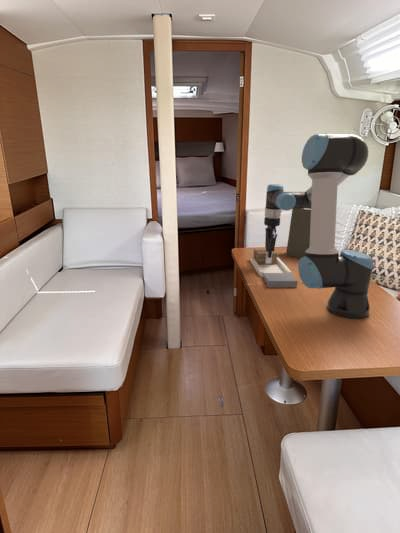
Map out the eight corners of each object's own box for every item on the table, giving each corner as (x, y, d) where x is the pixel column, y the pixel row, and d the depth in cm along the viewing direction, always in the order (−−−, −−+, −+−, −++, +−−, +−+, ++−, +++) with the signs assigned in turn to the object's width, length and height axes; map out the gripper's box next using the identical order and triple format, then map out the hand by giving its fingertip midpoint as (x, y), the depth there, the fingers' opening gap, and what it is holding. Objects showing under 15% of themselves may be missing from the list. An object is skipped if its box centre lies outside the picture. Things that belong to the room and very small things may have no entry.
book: (324, 256, 208) (333, 207, 198) (327, 261, 199) (336, 210, 189) (286, 252, 211) (293, 204, 201) (286, 257, 202) (293, 207, 193)
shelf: (291, 278, 173) (291, 272, 172) (259, 278, 172) (260, 272, 171) (277, 262, 194) (278, 257, 193) (250, 262, 193) (250, 257, 192)
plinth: (296, 287, 163) (297, 280, 162) (268, 287, 162) (268, 281, 161) (289, 278, 172) (290, 272, 171) (262, 279, 171) (263, 273, 170)
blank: (276, 264, 188) (277, 253, 186) (257, 264, 187) (258, 253, 185) (271, 259, 196) (272, 248, 194) (253, 259, 194) (253, 248, 192)
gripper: (284, 219, 171) (279, 267, 179) (276, 214, 183) (272, 258, 191) (268, 219, 170) (264, 267, 178) (261, 214, 183) (257, 258, 191)
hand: (268, 262), depth 185 cm, fingers closed
